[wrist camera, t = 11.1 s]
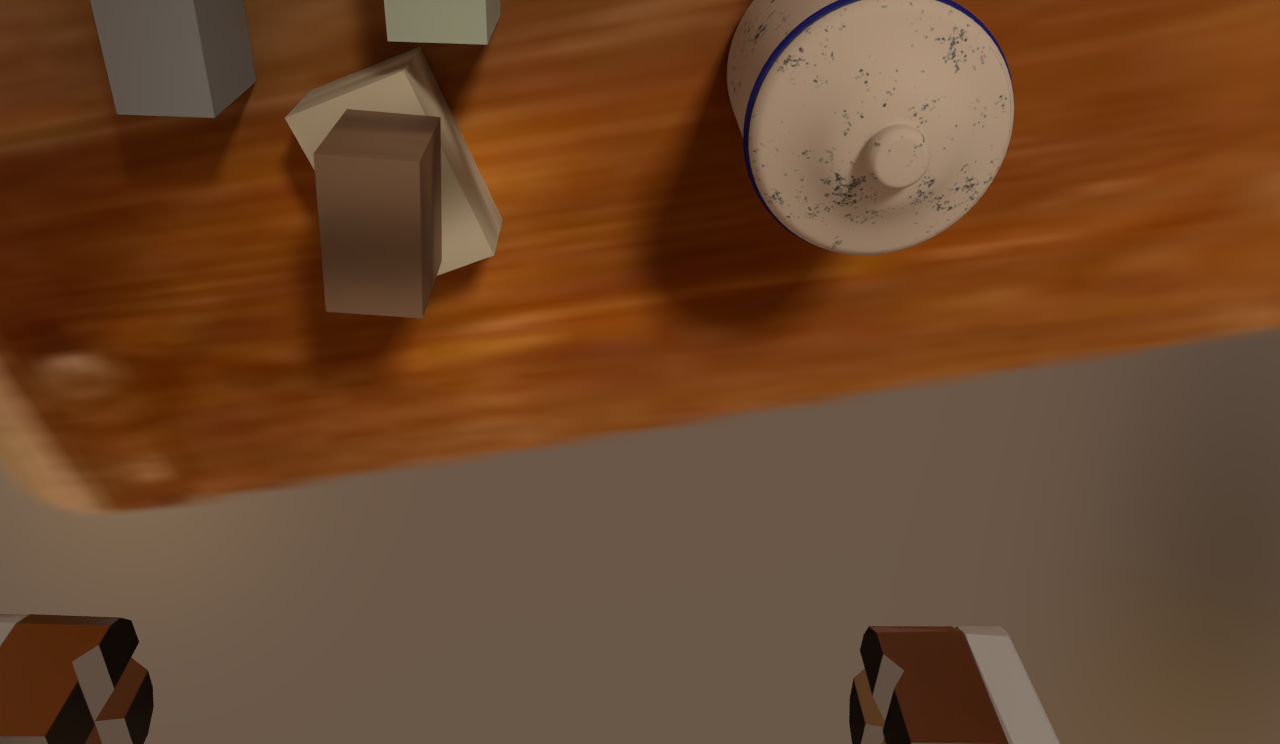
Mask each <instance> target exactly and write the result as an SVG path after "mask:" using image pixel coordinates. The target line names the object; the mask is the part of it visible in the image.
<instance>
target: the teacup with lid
mask: <svg viewBox="0 0 1280 744" xmlns="http://www.w3.org/2000/svg"><path fill="white" fill-rule="evenodd" d="M727 86H728V93H729V98H730V102H731V105H732V109H733V112H734V114H735V117H736V120H737V123H738V126H739V128H740V131H741V134H742V137H743V146H744V156H745V161H746V166H747V170H748V174H749V177H750V180H751V182H752V185H753V187H754V189H755V192H756V193H757V195H758V197H759V199H760V200H761V202H762V203H763V205H764V206H765V208H766V209H767V210H768V212H769V213H770V214H771V215H772V216H773V217H774V218H775V219H776V221H778V222H779V223H780V224H781V225H782V226H783V227H784V228H785V229H787V230H788V231H790V232H791V233H792V234H794V235H795V236H797V237H799V238H801V239H802V240H804V241H806V242H808V243H811V244H813V245H815V246H818V247H821V248H824V249H827V250H830V251H834V252H839V253H844V254H852V255H875V254H883V253H890V252H894V251H898V250H902V249H905V248H908V247H911V246H914V245H917V244H919V243H921V242H924V241H926V240H928V239H930V238H932V237H934V236H936V235H937V234H939V233H941V232H942V231H944V230H945V229H947V228H948V227H950V226H951V225H952V224H954V223H955V222H956V221H958V220H959V219H960V218H961V217H962V216H963V215H964V214H966V213H967V212H968V211H969V210H970V209H971V208H972V207H973V206H974V205H975V203H976V202H977V201H978V200H979V199H980V198H981V196H982V195H983V194H984V193H985V191H986V190H987V188H988V187H989V185H990V184H991V182H992V181H993V179H994V177H995V176H996V174H997V172H998V170H999V168H1000V166H1001V164H1002V161H1003V159H1004V157H1005V154H1006V151H1007V148H1008V145H1009V141H1010V137H1011V133H1012V127H1013V119H1014V94H1013V85H1012V79H1011V75H1010V71H1009V68H1008V64H1007V62H1006V59H1005V57H1004V54H1003V52H1002V50H1001V48H1000V47H999V45H998V43H997V41H996V40H995V38H994V37H993V36H992V34H991V33H990V31H989V30H988V29H987V28H986V27H985V26H984V24H983V23H982V22H981V21H980V20H979V19H977V18H976V17H975V16H974V15H973V14H972V13H971V12H969V11H968V10H966V9H965V8H963V7H962V6H960V5H959V4H957V3H955V2H953V1H951V0H754V1H753V2H752V3H751V5H750V6H749V7H748V9H747V10H746V12H745V13H744V15H743V17H742V18H741V20H740V22H739V24H738V26H737V29H736V31H735V34H734V36H733V39H732V43H731V46H730V51H729V56H728V63H727Z"/></svg>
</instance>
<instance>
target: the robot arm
mask: <svg viewBox="0 0 1280 744" xmlns="http://www.w3.org/2000/svg"><path fill="white" fill-rule="evenodd" d="M138 643H139V640H138V638H137V635H136V632H135V629H134V627H133V624H132V621H131V620H128V619H124V618H116V617H88V616H62V615H33V614H30V615H13V614H0V744H144V742H145V739H146V737H147V735H148V731H149V726H150V721H151V717H152V712H153V707H154V705H153V687H152V683H151V679H150V676H149V672H148V670H146V669H145V668H144V667H142V666H141V665H140V664H139V663H138V662H136V661H135V660H134V659H132V658H131V657H132V655H133V653H134V651H135V649H136V647H137V645H138ZM860 653H861V656H862V660H863V663H864V667H865V669H864V670H862V671H861V672H860V673H859V674H858V675H856V676H855V677H854V678H853V683H852V689H851V694H850V705H849V706H850V707H849V710H850V711H849V724H850V732H851V739H852V744H1060V743H1059V741H1058V739H1057V737H1056V735H1055V732H1054V730H1053V728H1052V726H1051V724H1050V722H1049V720H1048V718H1047V715H1046V713H1045V711H1044V709H1043V707H1042V705H1041V703H1040V701H1039V698H1038V696H1037V694H1036V692H1035V690H1034V688H1033V686H1032V684H1031V682H1030V679H1029V677H1028V675H1027V673H1026V671H1025V669H1024V667H1023V665H1022V662H1021V660H1020V658H1019V656H1018V654H1017V652H1016V650H1015V648H1014V645H1013V643H1012V641H1011V639H1010V637H1009V635H1008V633H1006V632H1005V631H1004V630H1003V629H1002V628H1001V627H955V628H954V627H951V626H944V627H943V626H941V627H940V626H939V627H938V626H926V627H925V626H869V627H868V629H867V630H866V632H865V633H864V635H863V640H862V644H861V648H860Z"/></svg>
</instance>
